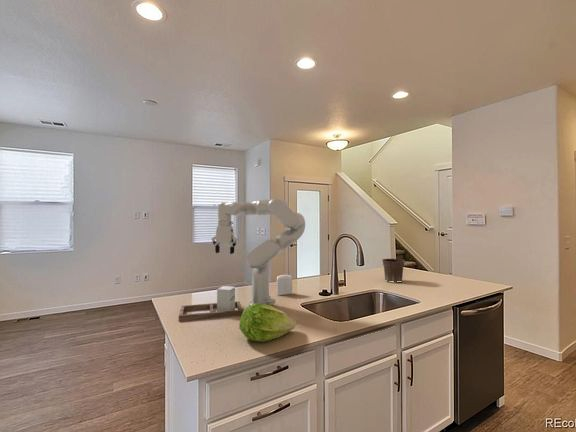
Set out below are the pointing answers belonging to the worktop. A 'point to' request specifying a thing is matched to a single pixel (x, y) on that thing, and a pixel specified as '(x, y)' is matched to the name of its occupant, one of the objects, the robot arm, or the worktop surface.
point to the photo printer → (284, 284)
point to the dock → (208, 315)
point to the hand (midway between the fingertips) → (224, 253)
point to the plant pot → (393, 269)
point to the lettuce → (265, 323)
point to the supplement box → (226, 298)
